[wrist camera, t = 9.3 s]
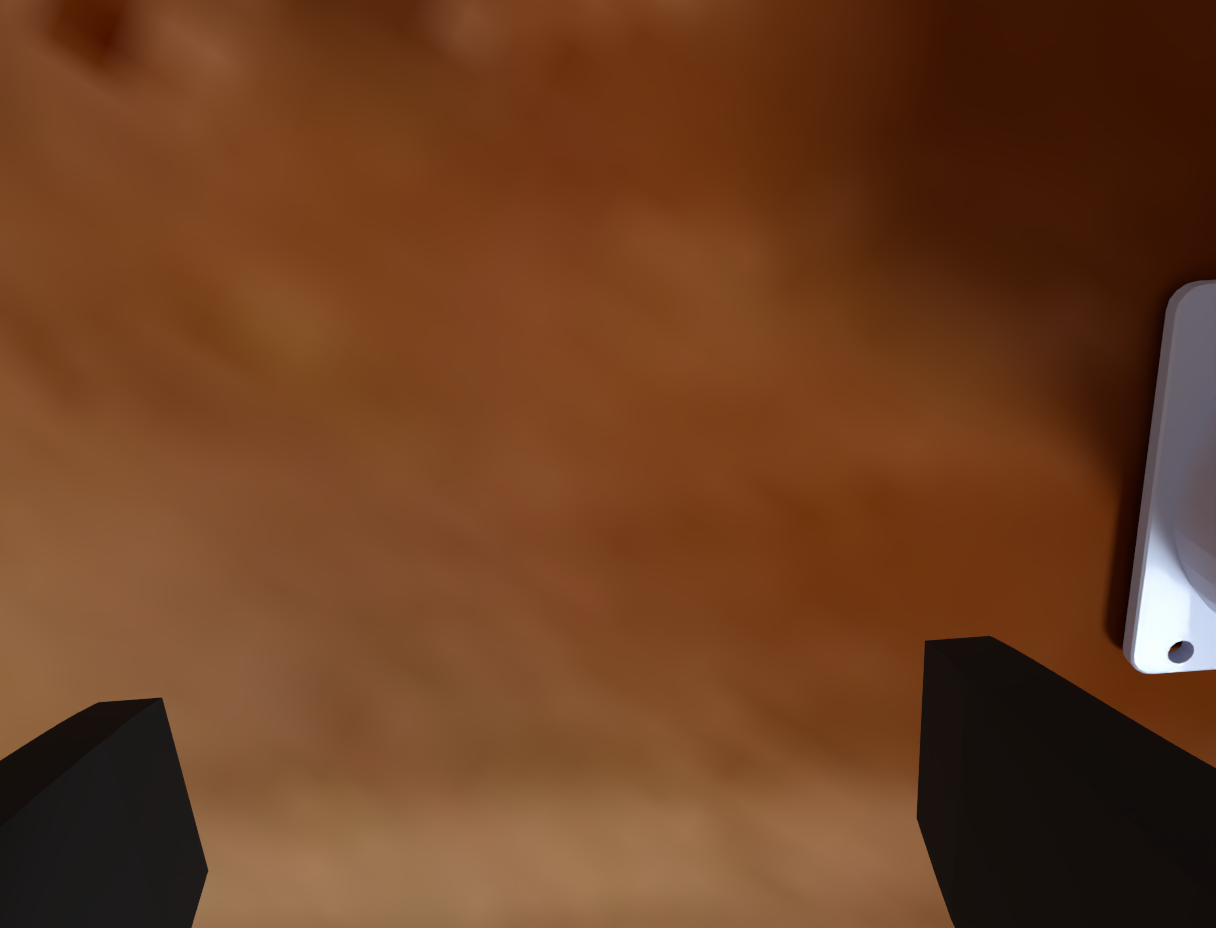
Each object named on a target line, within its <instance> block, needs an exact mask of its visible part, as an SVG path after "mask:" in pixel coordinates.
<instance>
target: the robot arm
mask: <svg viewBox="0 0 1216 928" xmlns="http://www.w3.org/2000/svg"><path fill="white" fill-rule="evenodd" d="M1180 641H1183V642H1182V645H1181V647H1180V648H1178V649H1177V650H1176V651H1175V652H1171V653H1168V651H1169V649H1170V647H1171V646H1172V645H1174V644H1175V643H1176V642H1180ZM1123 653H1124V656H1125V657H1126V659H1127V660H1128V662H1129V663H1130V664H1131V665H1132V666H1133V667H1134V668H1135V669H1136V670H1138V671H1140V672H1142V673H1148V674H1158V673H1171V672H1185V671H1198V670H1212V669H1216V280H1203V281H1195V282H1191V283H1188V284H1185V285H1184V286H1183V287H1181V288H1180V289H1178V290H1177V291H1176V292H1175V293H1174V295H1173V296H1172V297H1171V299H1170V300H1169V303H1168V306H1167V309H1166V314H1165V322H1164V330H1163V338H1162V345H1161V353H1160V361H1159V369H1158V377H1157V384H1156V392H1155V400H1154V408H1153V416H1152V423H1151V431H1150V439H1149V447H1148V455H1147V462H1146V470H1145V478H1144V486H1143V494H1142V501H1141V509H1140V517H1139V525H1138V533H1137V540H1136V548H1135V556H1134V564H1133V572H1132V579H1131V587H1130V595H1129V603H1128V611H1127V618H1126V626H1125V634H1124V642H1123ZM917 820H918V824H919V827H920V830H921V833H922V836H923V839H924V842H925V845H926V848H927V851H928V854H929V857H930V860H931V863H932V866H933V869H934V872H935V875H936V878H937V881H938V884H939V887H940V889H941V892H942V895H943V898H944V901H945V903H946V906H947V909H948V912H949V915H950V918H951V920H952V922H953V924H954V926H955V928H1216V768H1214V767H1213V766H1211V765H1209V764H1207V763H1205V762H1204V761H1202V760H1200V759H1198V758H1197V757H1195V756H1193V755H1191V754H1190V753H1188V752H1186V751H1184V750H1183V749H1181V748H1179V747H1178V746H1176V745H1174V744H1172V743H1171V742H1169V741H1167V740H1166V739H1164V738H1162V737H1161V736H1159V735H1157V734H1155V733H1154V732H1152V731H1150V730H1149V729H1147V728H1145V727H1144V726H1142V725H1140V724H1139V723H1137V722H1135V721H1134V720H1132V719H1130V718H1129V717H1127V716H1125V715H1124V714H1122V713H1120V712H1119V711H1117V710H1115V709H1114V708H1112V707H1110V706H1109V705H1107V704H1105V703H1104V702H1102V701H1100V700H1099V699H1097V698H1096V697H1094V696H1092V695H1091V694H1089V693H1087V692H1086V691H1084V690H1082V689H1081V688H1079V687H1078V686H1076V685H1074V684H1073V683H1071V682H1069V681H1068V680H1066V679H1064V678H1063V677H1061V676H1059V675H1058V674H1056V673H1055V672H1053V671H1051V670H1050V669H1048V668H1046V667H1045V666H1043V665H1041V664H1040V663H1038V662H1036V661H1035V660H1033V659H1031V658H1030V657H1028V656H1026V655H1024V654H1023V653H1021V652H1019V651H1017V650H1016V649H1014V648H1012V647H1010V646H1008V645H1007V644H1005V643H1003V642H1001V641H999V640H997V639H995V638H993V637H991V636H983V637H969V638H956V639H943V640H929V641H925V653H924V674H923V695H922V716H921V737H920V758H919V779H918V800H917ZM207 873H208V868H207V864H206V860H205V857H204V853H203V849H202V845H201V842H200V838H199V834H198V830H197V827H196V823H195V819H194V815H193V812H192V808H191V804H190V800H189V797H188V793H187V789H186V785H185V782H184V778H183V774H182V770H181V767H180V763H179V759H178V755H177V752H176V748H175V744H174V741H173V737H172V733H171V729H170V726H169V722H168V718H167V714H166V711H165V707H164V703H163V699H162V698H151V699H137V700H124V701H110V702H98V703H96V704H94V705H92V706H90V707H88V708H86V709H84V710H83V711H81V712H79V713H77V714H75V715H73V716H72V717H70V718H68V719H66V720H65V721H63V722H61V723H59V724H58V725H56V726H55V727H53V728H51V729H50V730H48V731H46V732H45V733H43V734H41V735H40V736H38V737H37V738H35V739H33V740H32V741H30V742H29V743H27V744H26V745H24V746H22V747H21V748H19V749H18V750H16V751H15V752H13V753H12V754H10V755H8V756H7V757H5V758H4V759H2V760H1V761H0V928H191V927H192V924H193V920H194V917H195V914H196V910H197V907H198V903H199V900H200V897H201V893H202V890H203V886H204V883H205V880H206V876H207Z"/></svg>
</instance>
